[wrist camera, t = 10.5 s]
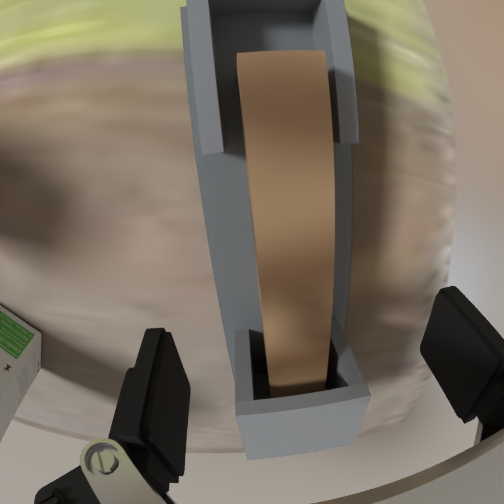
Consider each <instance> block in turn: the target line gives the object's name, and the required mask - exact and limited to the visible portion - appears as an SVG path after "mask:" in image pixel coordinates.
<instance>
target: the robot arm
mask: <svg viewBox="0 0 504 504" xmlns="http://www.w3.org/2000/svg"><path fill="white" fill-rule="evenodd" d="M420 352H421V355H422V356H423V358H424V360H425V361H426V363H427V365H428V366H429V368H430V369H431V371H432V373H433V374H434V376H435V378H436V379H437V381H438V383H439V384H440V386H441V388H442V390H443V391H444V393H445V395H446V397H447V399H448V400H449V402H450V404H451V406H452V407H453V409H454V411H455V413H456V415H457V416H458V417H459V418H461V419H462V421H463V422H464V423H467V422H469V421H471V420H473V419H475V417H476V416H477V417H478V419H479V422H478V427H477V433H476V437H475V442H474V446H473V447H471V448H469V449H467V450H465V451H464V452H462V453H460V454H458V455H456V456H454V457H452V458H450V459H448V460H446V461H444V462H441V463H439V464H437V465H435V466H432V467H431V468H428V469H426V470H423V471H421V472H418V473H416V474H413V475H411V476H409V477H406V478H403V479H400V480H398V481H395V482H392V483H389V484H386V485H383V486H380V487H377V488H374V489H370V490H367V491H364V492H360V493H357V494H352V495H349V496H345V497H341V498H337V499H332V500H328V501H323V502H318V503H312V504H504V339H503V338H502V337H501V335H500V334H499V333H498V332H497V331H496V330H495V328H494V327H493V326H492V325H491V324H490V323H489V321H488V320H487V319H486V318H485V317H484V316H483V315H482V314H481V313H480V311H478V309H477V308H476V307H475V306H474V305H473V304H472V303H471V302H470V301H469V300H468V299H467V298H466V297H465V295H463V293H462V292H461V291H460V290H459V289H458V288H457V287H455V286H450V287H446V288H442V289H440V291H439V293H438V294H437V295H436V297H435V301H434V305H433V308H432V311H431V315H430V318H429V321H428V324H427V327H426V331H425V334H424V337H423V339H422V342H421V345H420ZM189 403H190V384H189V381H188V378H187V376H186V373H185V370H184V368H183V365H182V362H181V360H180V357H179V354H178V351H177V348H176V346H175V343H174V340H173V337H172V334H171V333H170V332H166V331H165V329H164V328H151V329H146V331H145V334H144V337H143V340H142V343H141V347H140V350H139V353H138V357H137V360H136V364H135V367H134V368H129V369H128V370H127V372H126V375H125V378H124V382H123V385H122V388H121V392H120V396H119V399H118V403H117V406H116V410H115V414H114V418H113V421H112V425H111V429H110V433H109V437H108V438H98V439H96V440H93V441H91V442H90V443H88V444H87V445H86V446H85V447H84V449H83V450H82V452H81V455H80V466H78V467H76V468H75V469H73V470H71V471H70V472H68V473H66V474H65V475H63V476H61V477H60V478H58V479H56V480H55V481H53V482H51V483H49V484H48V485H46V486H44V487H42V488H41V489H40V490H39V491H38V492H37V494H36V496H35V500H34V504H176V503H175V501H174V500H173V499H172V498H171V497H170V496H169V494H168V493H167V492H168V491H169V483H178V482H179V476H183V475H184V469H185V453H186V439H187V426H188V414H189Z"/></svg>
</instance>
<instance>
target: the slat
mask: <svg viewBox="0 0 504 504" xmlns="http://www.w3.org/2000/svg"><path fill="white" fill-rule="evenodd" d="M237 80H238V89H239V99H240V109H241V118H242V128H243V138H244V147H245V157H246V167H247V177H248V186H249V196H250V206H251V216H252V226H253V236H254V246H255V256H256V266H257V276H258V286H259V296H260V306H261V316H262V326H263V337H264V347H265V356H266V364H267V372H268V380H269V388H270V397H271V398H279V397H287V396H295V395H301V394H308V393H314V392H320V391H325V385H326V377H327V367H328V357H329V346H330V334H331V320H332V305H333V285H334V258H335V177H334V150H333V131H332V116H331V103H330V91H329V81H328V71H327V62H326V53H325V51H319V50H280V51H258V52H244V53H237Z"/></svg>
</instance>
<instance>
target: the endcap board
mask: <svg viewBox="0 0 504 504" xmlns="http://www.w3.org/2000/svg"><path fill="white" fill-rule="evenodd" d="M186 1H187V6H185V7H180V10H181V23H182V36H183V48H184V59H185V69H186V79H187V89H188V98H189V107H190V116H191V124H192V132H193V140H194V148H195V156H196V163H197V170H198V178H199V185H200V192H201V198H202V205H203V212H204V218H205V225H206V231H207V237H208V243H209V249H210V255H211V261H212V267H213V273H214V278H215V284H216V290H217V295H218V301H219V306H220V311H221V317H222V322H223V327H224V332H225V337H226V342H227V347H228V352H229V357H230V362H231V367H232V372H233V376H234V381H235V410H236V419H237V423H238V427H239V431H240V434H241V438H242V442H243V445H244V449H245V453H246V456H247V460H252V459H264V458H274V457H282V456H290V455H297V454H303V453H310V452H316V451H321V450H326V449H332V448H336V447H341V446H345V445H350V444H354V443H355V441H356V438H357V435H358V433H359V430H360V427H361V424H362V421H363V418H364V415H365V412H366V409H367V406H368V403H369V399H370V396H371V394H370V392H369V389H368V387H367V385H366V382H365V380H364V378H363V375H362V373H361V371H360V368H359V366H358V364H357V361H356V359H355V357H354V354H353V352H352V350H351V348H350V345H349V343H348V341H347V339H346V337H345V325H346V316H347V305H348V293H349V280H350V265H351V245H352V209H353V175H352V143H359V127H358V110H357V97H356V85H355V75H354V65H353V57H352V49H351V42H350V35H349V28H348V22H347V16H346V10H345V5H344V0H186ZM280 50H319V51H325V53H326V62H327V71H328V81H329V91H330V103H331V116H332V131H333V150H334V177H335V258H334V285H333V305H332V320H331V334H330V346H329V357H328V367H327V377H326V385H325V391H320V392H314V393H308V394H301V395H295V396H287V397H279V398H271V397H270V388H269V380H268V372H267V364H266V356H265V347H264V337H263V326H262V316H261V306H260V296H259V286H258V276H257V266H256V256H255V246H254V236H253V226H252V216H251V206H250V196H249V186H248V177H247V167H246V157H245V147H244V138H243V128H242V118H241V109H240V99H239V89H238V80H237V53H244V52H258V51H280Z"/></svg>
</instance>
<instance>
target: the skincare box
mask: <svg viewBox="0 0 504 504" xmlns="http://www.w3.org/2000/svg"><path fill="white" fill-rule="evenodd" d="M41 339H42V335H41V333H40V332H39V331H37V330H36V329H34V328H32V327H31V326H29V325H28V324H27V323H25V322H24V321H22V320H21V319H19V318H18V317H16V316H15V315H14V314H12V313H11V312H9V311H8V310H7V309H5V308H4V307H2V306H1V305H0V442H1V440H2V438H3V435H4V434H5V431H6V430H7V428H8V426H9V424H10V421H11V420H12V418H13V416H14V414H15V412H16V411H17V409H18V407H19V405H20V403H21V401H22V400H23V398H24V396H25V394H26V393H27V391H28V389H29V388H30V386H31V384H32V383H33V381H34V379H35V378H36V376H37V374H38V373H39V371H40V369H41Z"/></svg>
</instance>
